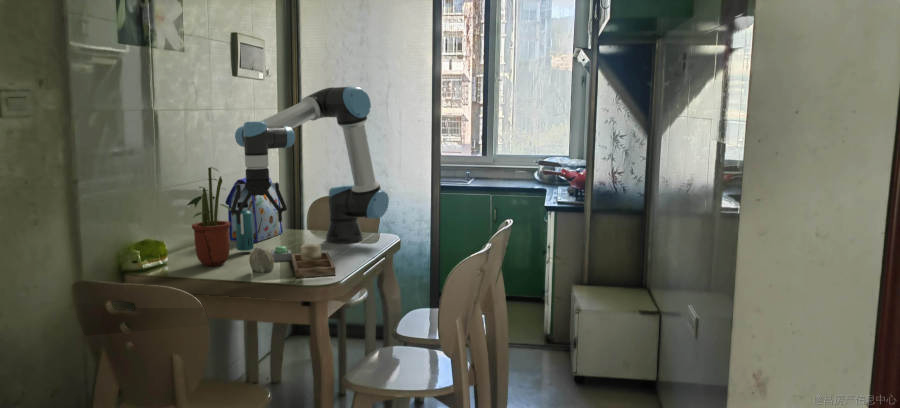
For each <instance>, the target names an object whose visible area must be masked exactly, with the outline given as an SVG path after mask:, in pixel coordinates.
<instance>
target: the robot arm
mask: <svg viewBox="0 0 900 408" xmlns="http://www.w3.org/2000/svg"><path fill="white" fill-rule="evenodd" d="M371 106H372V104H371V99H370V97H369V95H368V93H367V92H366V91H365V89H363V88H361V87H358V86H337V87H334V86H333V87H325V88H322V89H319V90H317V91H315V92H313V93H311V94H309V95H307V96H305V97H303V98H302V99H301V101H300V102H298V103H297V104H294V105H292V106H290V107H287V108H285V109H283V110H281V111H280V112H277V113H275V114H273V115H271V116H269V117H267V118H265V119H263V120H260V121H259V120H258V121H246V122H244V123H243V126H240V127H238V128H237V129H236V131H235V133H234V138H235V139H234V140H235V142H236V143H237V145H239V146H240V147H243V150H244V166H245V167H246V169H245V178H246V183H245V184H237V192H236V196H235V199H234V202H233V205H232V209H231V213H234V214H236V215H237V224H241V234H244V228H243V214H240V213H241V212H242V210H243V208H244V207H245V205H246V203H247V202H248V200H249V199H250V197H251V195H253V196H257V195H260V196H263V195H266V196H267V198H268V199H269V200H270V202H271V203H272V204H273V206H274V207H275V208H276V210H277V211H278V212H276V228H277V232H279V222H281V223H282V222H283V215H282V213H283V212H285V211H287V210H288V208H287V205H286V203H285V200H284V197H283V195H282V193H281V191H280V184H279V182H278V181H276V182H272V183H270V181H269V178H270V171H269V170H270V169H269V149H270V150H271V149H286V148H291V147H292V146H293V145H294V144H295V142H296V134H295V131H294V128H296V127H299V126H301V125H303V124H305V123H307V122H309V121H311V122H312V121H316V120H319V119H321V118H322V119H325V118H336V122H337V125H338V126H339V127H341V128H342V131H343V137H344V142H345V146H346V151H347V156H348V161H349V164H350V170H351V175H352V181H353V184H347V185H342V186H341V185H339V186H335V187H331V188H329V190H328V208H329V210H328V211H329V225H328V228H327V232H326V236H325V241H326V242H328V243H331V244H352V243H357V242H361V241H363V233H362V229H361V226H360V223H359V219H358V218H363V219H370V220H373V219H376V220H377V219H381V218H382V217H383V216H384V215H385V214H386V212H387V210H388V207H389V202H390V199H389V195H388V193H387V192H386V191H385V190H383V189H381V184H380V182H378V181H377V180H376V178H375V173H374V167H373V163H372V157H371V151H370V146H369V142H368V136H367V132H366V128H365V127H366V126H365V123H366V121H367V120H368V115H369V114H370V112H371ZM271 186H272V187H273V189H275V190H276V193H277V195H278V198H279V200H280V207H281V208H280V207H279V206H278V204H277V203H276V202H275V200H274V199H273V198H272V196H271V195H270V193H269V192H268V190H269V188H270V187H271ZM244 187H245V188H246V189H247V190H248V191H249V192H248V194H247V196H246V197H245V199H244V200H243V202H242V204H241V205H240V207H239V209H238V210H235V209H236V205H237V202H238V199H239V196H240V192H241V191H242V190H243V188H244Z"/></svg>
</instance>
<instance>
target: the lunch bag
mask: <svg viewBox="0 0 900 408" xmlns="http://www.w3.org/2000/svg"><path fill="white" fill-rule="evenodd" d="M269 181H270V183H273V181H272V179H271V177H269ZM245 183H246V177H242V178H241V179H237V180H236V182H235V183H234V184H233V185H232V188H231V189H230V191H229V193H228V194H227V197H226V199H225V206H227V207H229V208H230V209H232V205H233V202H234V199H235V196H236V192H237V184H245ZM248 192H249V191H248V190H247V189H246V188H245V187H244V188H243V190H242V191H241V192H240V196H239V199H238V202H243V200H244V199H245V197H246V196H247V194H248ZM268 192H269V193H270V195H271V196H272V198H273V199H274V200H275V202H276V203H277V204H278V206H279V207H280V208H282V206H281V202H280V200H279V198H278V195H277V193H276V190H275V189H273V187H272V186H271V187H270V188H269V190H268ZM238 202H237V203H238ZM238 209H239V208H237V205H236V209H235V210H238ZM227 210H228V212H227V214H228V217H227V219H228V222H230V227H229V240H230V241H231V242H237V240H236V222H235V215H234V214H233V213H231V211H230V210H229V209H228V208H227ZM243 210H249V211H250V212H251V213H252V214H251V215H252V223H253V224H252V230H253V240H254V241H253V243H257V242H260V241H264V240H266V239H270V238H273V237H275V236H279V235H282V234H283V225H282V222H279V232H277V228H276V212H278V211H277V210H276V208H275V207H274V206H273V204H272V203H271V202H270V200H269V199H268V198H267V196H266V195H263V196H260V195H257V196H253V195H251V197H250V199H249V200H248V207H247V208H243Z"/></svg>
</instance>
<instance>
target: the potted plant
mask: <svg viewBox="0 0 900 408" xmlns="http://www.w3.org/2000/svg"><path fill="white" fill-rule="evenodd" d="M207 169H208V170H207V172H208V178H207V180H208V189H206V187H204V186H198V189H201V190H200V191H201V192H202V194H201V195H200V196H197V197H195V198H193V199H192V200H191V201H189V202H188V203H187V204H186V205H185V207H188V206H190V205H194V207H195V208H197V206H198V204H199V202H200V201H201V212H197V213H195V214H194V216H193V217H192V219H194V218H195V217H197V216H200V215H201V221H200V222H196V223H193V224H191V228H192V229H191V230H193V233H194V247H195V253H196V257H197V259H198V261H199V263H201V264H202V265H203V266H206V267H219V266H222V265H223V264H225V263H226V262H227V260H228V258H229V257H230V249H231V245H230V243H231V242H230V241H231V240H230V239H229V227H230V222H229V220H228V221H227V220H219V219H218V211H219V210H218V209H219V206H222V207H224V208H226V209H227V210H228V209H229V210H230V211H231V209H230V208H229V207H228V205H226V204H224V203H223V204H222V203H221V204H219V200H220V199H219V198H220V193H221V192H220V191H221V189H222V188H221V187H222V184H223V178H222V176H221V175H220V176H219V178H218V180H217V179H216V178H213V177H212V169H213V170H215V171H217V172H218V173H220V171H219V170H218V169H217V168H216V167H215V168H214V167H212V166H210V167H208V168H207ZM220 174H221V173H220ZM213 180H214V181H216V182H217V186H216V193H215V196H213ZM224 190H225V191H227V190H226V188H224ZM207 192H208V193H207ZM208 194H209V199H208ZM214 199H215V202H213V200H214ZM208 200H209V201H208ZM213 203H214V205H213ZM233 214H234V213H233ZM234 215H235V214H234Z"/></svg>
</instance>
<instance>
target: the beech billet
mask: <svg viewBox="0 0 900 408" xmlns="http://www.w3.org/2000/svg"><path fill="white" fill-rule="evenodd" d="M321 253H322V245H321V244H318V243H316V244H315V243H310V244H309V243H307V244H302V245H300V254H301V261H311V260H321Z"/></svg>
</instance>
